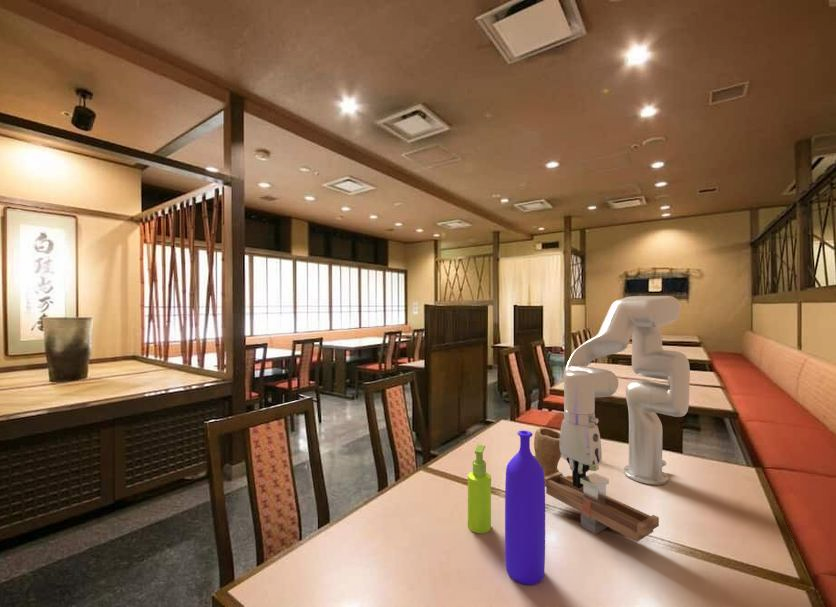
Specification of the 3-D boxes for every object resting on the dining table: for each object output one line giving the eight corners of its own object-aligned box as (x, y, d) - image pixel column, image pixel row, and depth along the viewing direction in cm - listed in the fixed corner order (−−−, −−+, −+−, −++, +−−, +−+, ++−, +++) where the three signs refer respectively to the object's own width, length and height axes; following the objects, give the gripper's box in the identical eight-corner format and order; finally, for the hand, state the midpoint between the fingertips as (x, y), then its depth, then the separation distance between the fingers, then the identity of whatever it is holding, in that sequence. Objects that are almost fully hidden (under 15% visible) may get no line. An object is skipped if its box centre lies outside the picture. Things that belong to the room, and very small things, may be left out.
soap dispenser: (492, 520, 99) (492, 444, 99) (489, 535, 93) (489, 454, 93) (471, 515, 101) (471, 442, 101) (465, 530, 95) (465, 451, 95)
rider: (594, 496, 100) (594, 472, 100) (608, 502, 97) (608, 478, 97) (580, 502, 97) (580, 478, 97) (594, 509, 93) (594, 484, 93)
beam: (559, 498, 110) (559, 471, 110) (659, 551, 87) (659, 517, 87) (542, 505, 106) (542, 477, 106) (642, 563, 83) (642, 527, 83)
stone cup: (572, 483, 119) (572, 436, 119) (536, 485, 118) (536, 438, 118) (550, 463, 135) (550, 421, 134) (518, 464, 133) (518, 422, 133)
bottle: (499, 560, 84) (500, 426, 84) (535, 557, 85) (536, 425, 85) (512, 588, 76) (512, 440, 76) (551, 585, 76) (552, 438, 76)
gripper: (614, 423, 96) (614, 494, 96) (564, 408, 109) (564, 471, 109) (596, 428, 92) (596, 502, 92) (547, 412, 105) (546, 478, 105)
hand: (579, 485), depth 101 cm, fingers closed
